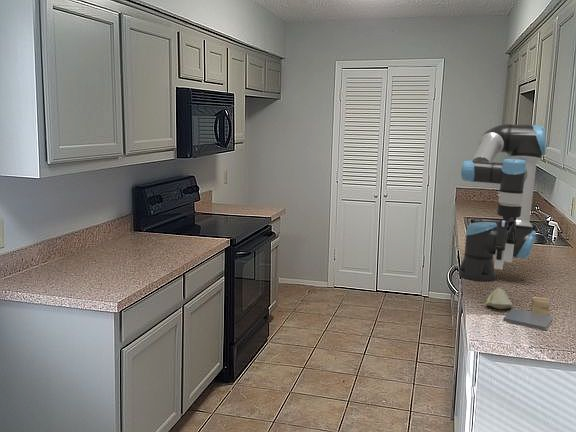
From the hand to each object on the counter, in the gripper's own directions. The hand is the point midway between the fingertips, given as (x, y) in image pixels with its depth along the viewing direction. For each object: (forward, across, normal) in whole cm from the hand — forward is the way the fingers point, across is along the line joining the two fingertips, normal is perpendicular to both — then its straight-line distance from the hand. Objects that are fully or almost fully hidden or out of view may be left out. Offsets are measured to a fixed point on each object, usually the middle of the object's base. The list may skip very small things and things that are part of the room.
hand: (503, 265), depth 198 cm
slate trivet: (+16, +6, +11) cm, 20 cm away
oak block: (+16, -5, +12) cm, 21 cm away
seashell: (+16, 0, 0) cm, 16 cm away
